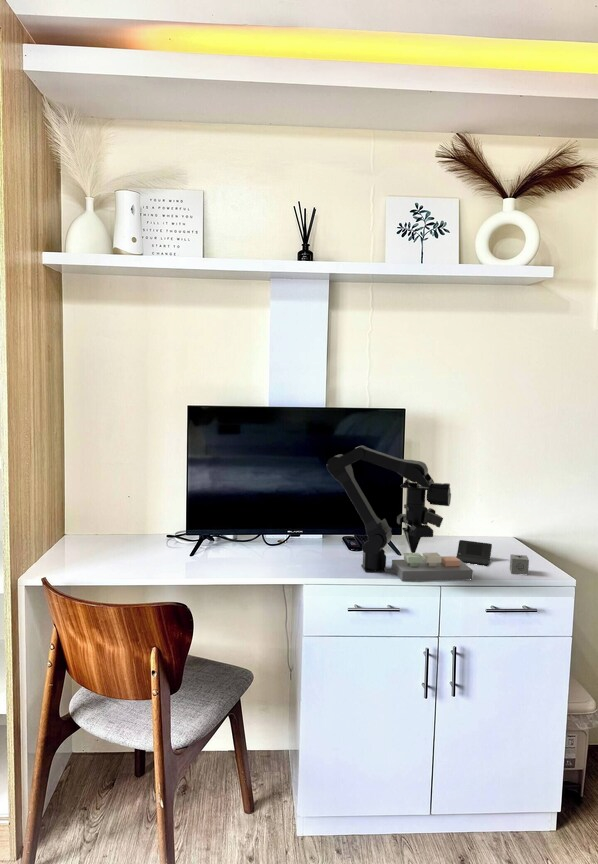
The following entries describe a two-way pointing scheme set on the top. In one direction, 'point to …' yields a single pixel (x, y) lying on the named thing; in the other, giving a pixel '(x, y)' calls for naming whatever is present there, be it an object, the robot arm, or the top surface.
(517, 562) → the dice cube
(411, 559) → the pale green cube
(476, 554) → the handheld gaming console
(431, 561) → the cream cube
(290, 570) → the top surface
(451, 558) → the peach cube
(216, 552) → the top surface
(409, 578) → the gray rectangular slab
